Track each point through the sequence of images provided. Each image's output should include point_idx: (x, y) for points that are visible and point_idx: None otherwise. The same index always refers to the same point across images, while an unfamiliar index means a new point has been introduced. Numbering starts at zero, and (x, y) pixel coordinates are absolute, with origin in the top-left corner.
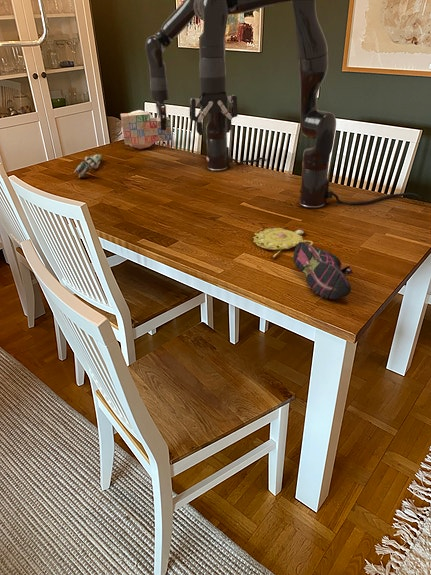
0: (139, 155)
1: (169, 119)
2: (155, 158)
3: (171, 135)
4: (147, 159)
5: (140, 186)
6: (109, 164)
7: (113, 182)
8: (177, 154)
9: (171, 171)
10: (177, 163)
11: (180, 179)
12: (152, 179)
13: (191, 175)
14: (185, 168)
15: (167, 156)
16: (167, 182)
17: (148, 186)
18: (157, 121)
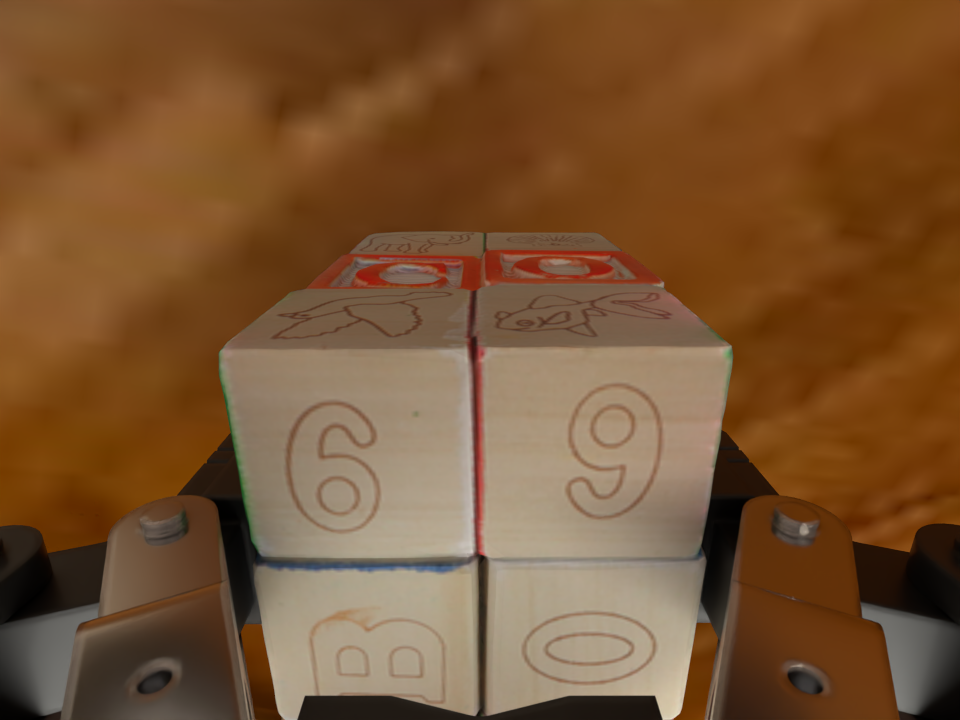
0: (35, 444)
1: (715, 376)
2: (157, 318)
3: (615, 248)
4: (179, 392)
5: (870, 512)
6: (265, 659)
7: (691, 654)
8: (29, 57)
9: (623, 233)
10: (384, 125)
11: (890, 191)
12: (761, 418)
13: (837, 54)
14: (586, 70)
15: (100, 188)
16: (900, 316)
17: (904, 463)
18: (675, 689)
